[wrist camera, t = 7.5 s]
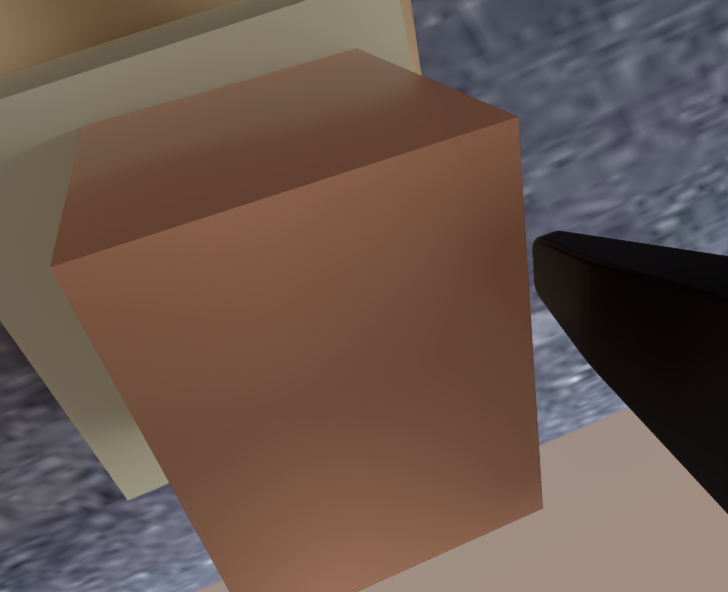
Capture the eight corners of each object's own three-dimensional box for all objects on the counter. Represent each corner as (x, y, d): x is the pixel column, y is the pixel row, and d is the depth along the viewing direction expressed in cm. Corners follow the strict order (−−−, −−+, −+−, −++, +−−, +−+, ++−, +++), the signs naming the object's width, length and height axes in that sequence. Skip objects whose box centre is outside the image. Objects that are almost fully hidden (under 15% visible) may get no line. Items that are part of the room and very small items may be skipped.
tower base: (350, -91, 15) (396, -100, 12) (414, 269, 20) (455, 315, 17) (-100, 17, 13) (-155, 33, 10) (103, 379, 18) (99, 447, 16)
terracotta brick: (357, 48, 10) (518, 116, 6) (413, 335, 13) (542, 508, 9) (82, 127, 9) (49, 267, 5) (211, 411, 13) (254, 637, 8)
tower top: (340, -32, 12) (394, -28, 10) (418, 293, 17) (469, 353, 14) (-72, 98, 11) (-128, 140, 9) (128, 412, 15) (127, 500, 13)
